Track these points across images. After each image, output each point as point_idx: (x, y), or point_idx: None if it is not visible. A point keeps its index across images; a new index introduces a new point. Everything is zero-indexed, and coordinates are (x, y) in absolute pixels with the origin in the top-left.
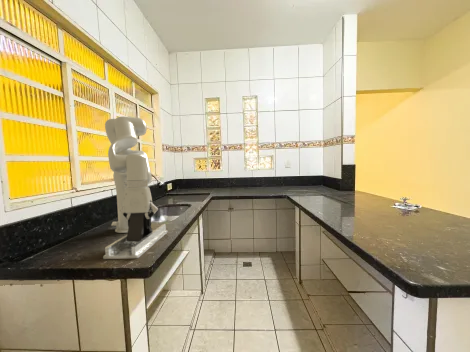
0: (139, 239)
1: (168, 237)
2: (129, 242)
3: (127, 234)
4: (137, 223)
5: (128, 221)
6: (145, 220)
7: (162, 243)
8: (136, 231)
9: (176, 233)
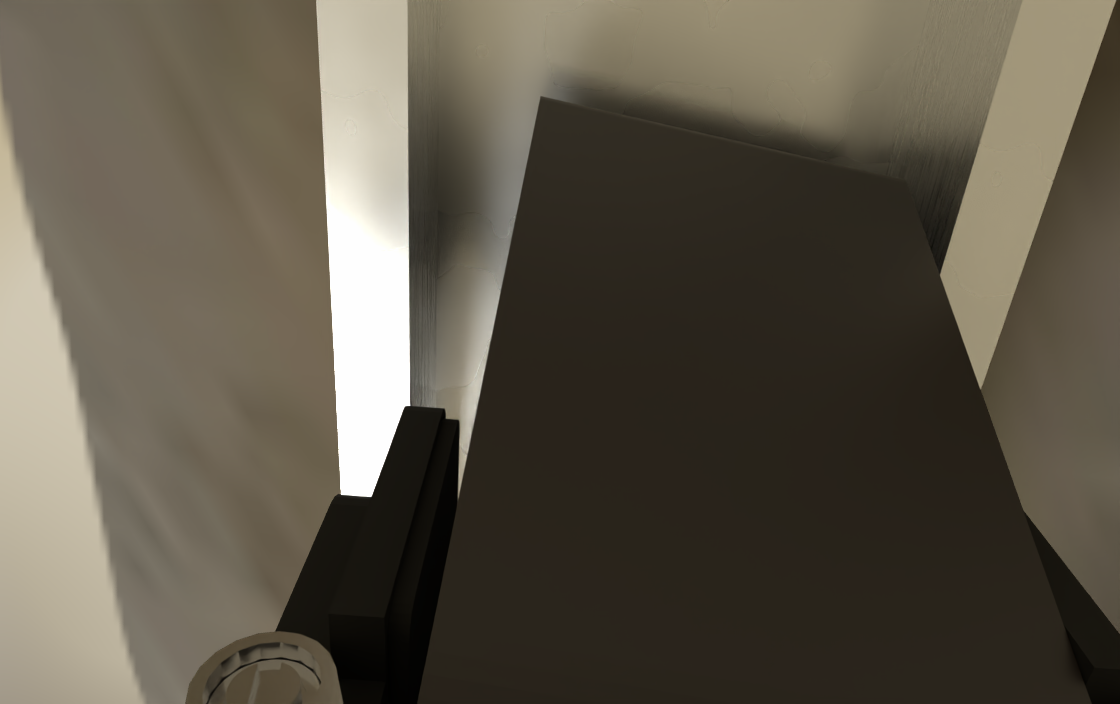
0: (557, 120)
1: (225, 531)
2: None
3: (933, 270)
4: (694, 478)
5: (1102, 616)
6: (390, 584)
7: (184, 255)
8: (676, 270)
9: (175, 682)
